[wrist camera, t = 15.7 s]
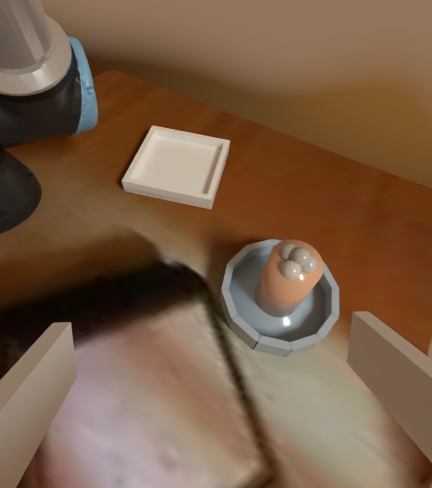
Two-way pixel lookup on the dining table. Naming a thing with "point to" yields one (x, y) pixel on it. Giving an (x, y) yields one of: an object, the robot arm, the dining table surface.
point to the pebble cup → (288, 277)
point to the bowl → (268, 327)
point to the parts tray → (178, 167)
